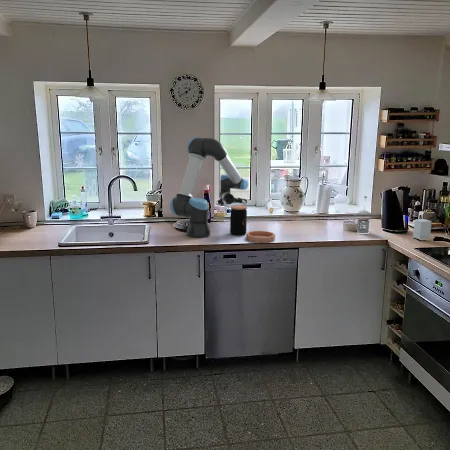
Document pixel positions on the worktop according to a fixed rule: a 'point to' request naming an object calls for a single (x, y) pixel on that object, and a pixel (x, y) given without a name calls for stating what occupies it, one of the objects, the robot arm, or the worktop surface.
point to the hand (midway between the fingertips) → (235, 204)
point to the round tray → (260, 236)
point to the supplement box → (422, 229)
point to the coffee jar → (238, 220)
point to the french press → (359, 222)
